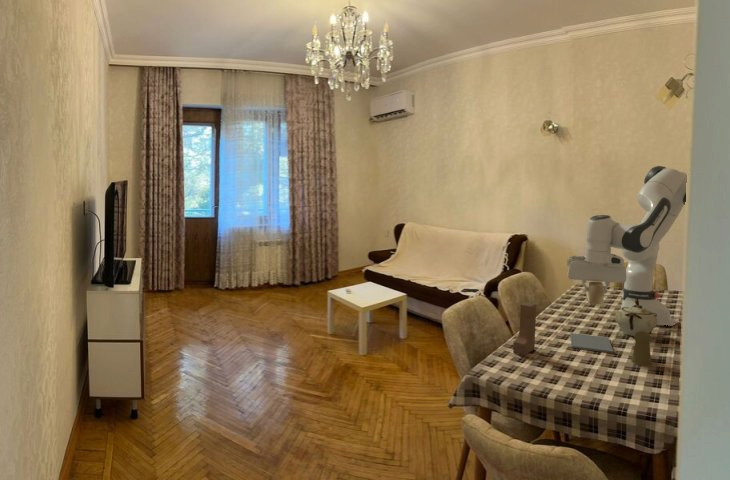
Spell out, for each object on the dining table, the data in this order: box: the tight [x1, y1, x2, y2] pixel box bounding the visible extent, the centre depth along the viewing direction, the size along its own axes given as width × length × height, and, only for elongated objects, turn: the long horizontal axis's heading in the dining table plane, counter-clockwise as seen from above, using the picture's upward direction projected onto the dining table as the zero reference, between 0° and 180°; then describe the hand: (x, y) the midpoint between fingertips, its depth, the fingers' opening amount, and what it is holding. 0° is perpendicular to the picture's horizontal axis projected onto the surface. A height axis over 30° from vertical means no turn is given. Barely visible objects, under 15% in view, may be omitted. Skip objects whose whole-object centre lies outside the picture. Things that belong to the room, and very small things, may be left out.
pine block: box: [585, 280, 605, 306], centre depth 168 cm, size 4×7×14 cm
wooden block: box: [512, 302, 537, 357], centre depth 162 cm, size 9×4×18 cm, turn 134°
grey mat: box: [569, 332, 614, 354], centre depth 170 cm, size 14×16×1 cm
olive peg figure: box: [630, 332, 653, 367], centre depth 151 cm, size 6×6×11 cm
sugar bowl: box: [614, 299, 658, 337], centre depth 180 cm, size 20×15×15 cm
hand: (594, 292), depth 167 cm, fingers closed on pine block, 4 cm apart
